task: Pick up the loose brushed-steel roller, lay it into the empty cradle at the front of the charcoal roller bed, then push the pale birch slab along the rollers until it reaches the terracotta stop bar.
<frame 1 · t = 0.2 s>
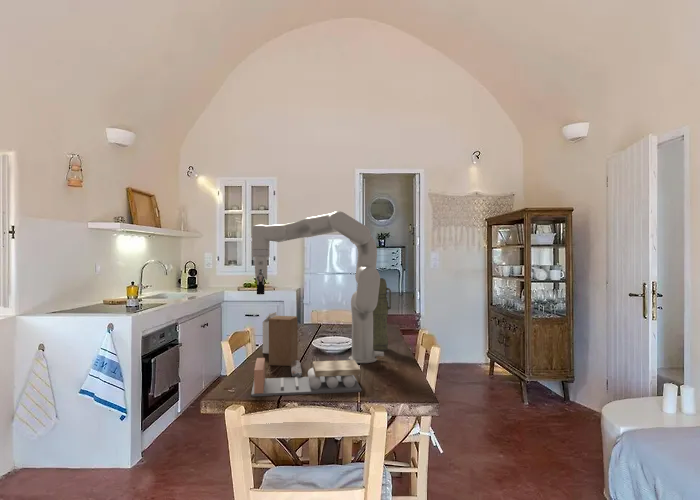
hand: (260, 293, 207), 31 cm above the table, fingers open, 9 cm apart
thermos: (378, 349, 238), on the table
wooden block: (283, 363, 209), on the table
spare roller: (296, 374, 192), on the table
roller bed: (305, 386, 175), on the table
milk carton: (272, 352, 231), on the table
slab: (335, 368, 176), point 6 cm above the table, slide at 0.0 cm
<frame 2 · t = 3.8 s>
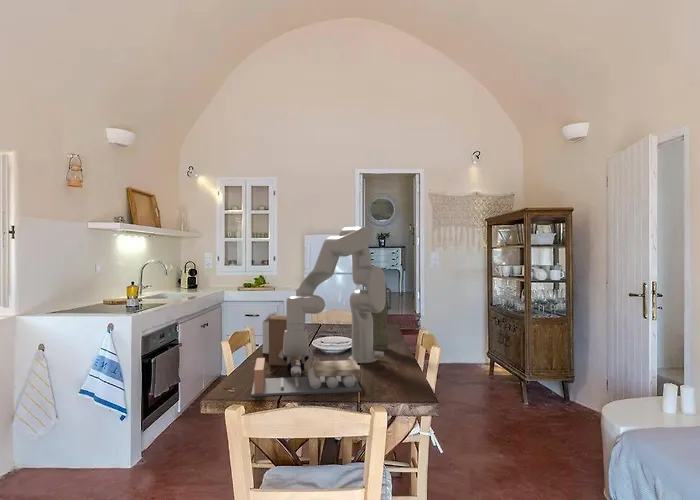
hand: (295, 372, 192), 0 cm above the table, fingers closed on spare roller, 4 cm apart
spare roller: (295, 373, 192), on the table, touching gripper
everything else where it was.
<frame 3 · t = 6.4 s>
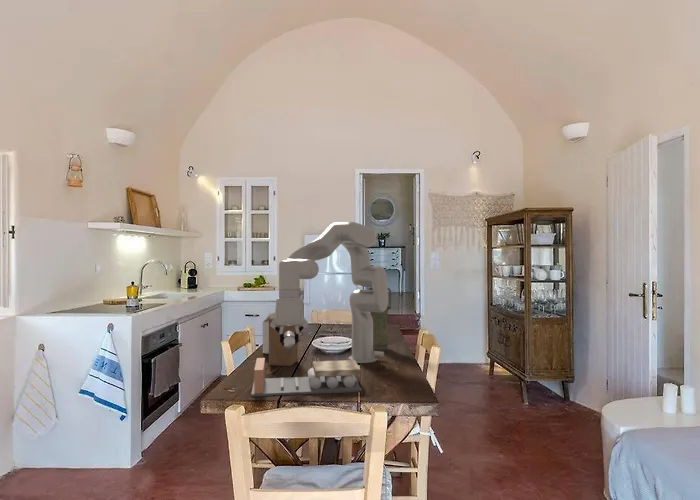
hand: (289, 344, 174), 16 cm above the table, fingers closed on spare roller, 4 cm apart
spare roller: (289, 345, 174), point 15 cm above the table, touching gripper
everything else where it was.
when the fingers open (3 cm above the table, at t = 9.2 s): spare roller drops 1 cm, resting on roller bed.
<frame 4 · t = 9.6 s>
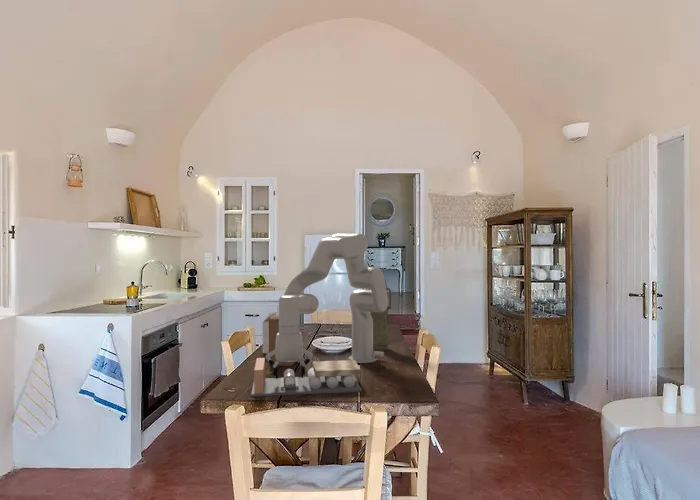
hand: (289, 377, 174), 3 cm above the table, fingers open, 8 cm apart
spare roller: (289, 384, 174), point 1 cm above the table, touching roller bed
everything else where it was.
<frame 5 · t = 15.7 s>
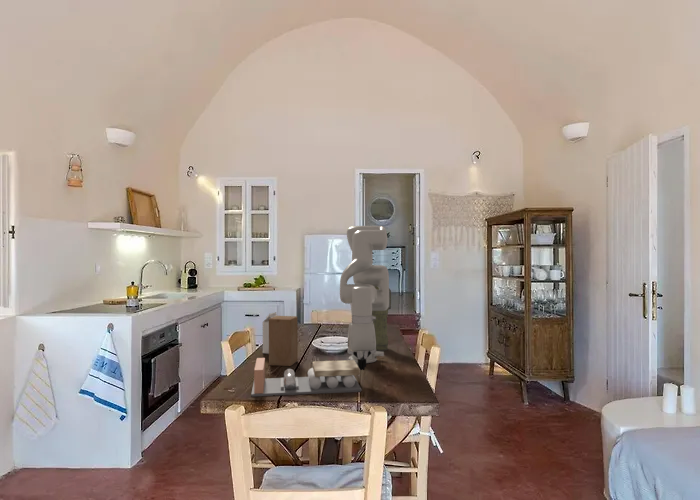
hand: (361, 369, 178), 5 cm above the table, fingers closed
slab: (335, 368, 176), point 6 cm above the table, slide at 0.2 cm, touching gripper
everything else where it was.
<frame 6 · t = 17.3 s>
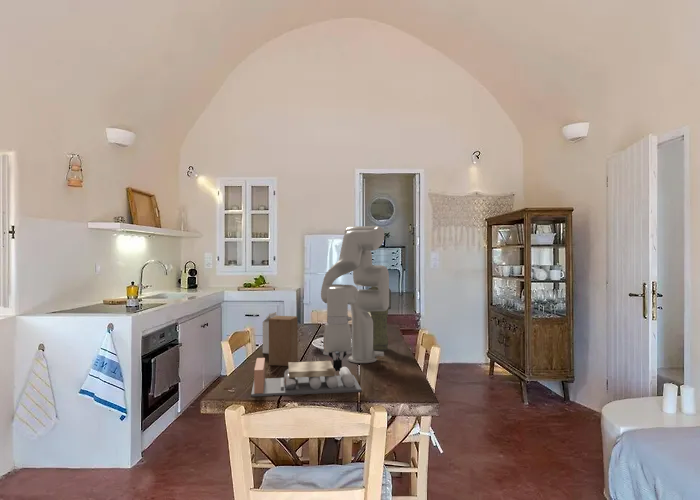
hand: (337, 370, 177), 5 cm above the table, fingers closed
slab: (310, 368, 175), point 6 cm above the table, slide at 9.2 cm, touching gripper
everything else where it was.
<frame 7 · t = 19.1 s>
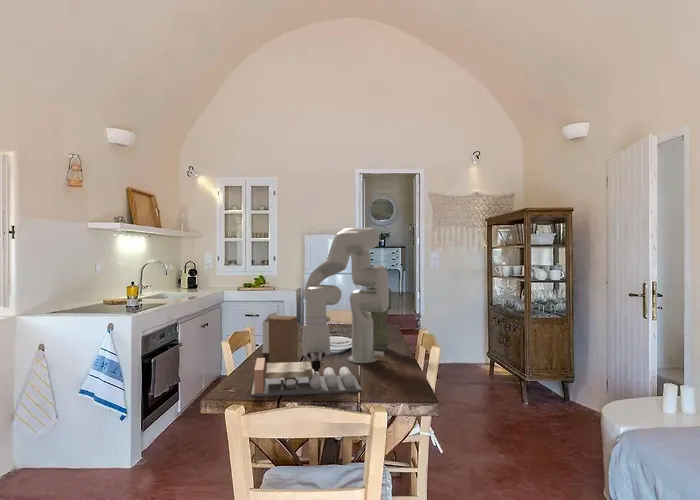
hand: (316, 370, 175), 5 cm above the table, fingers closed
slab: (289, 369, 174), point 6 cm above the table, slide at 17.1 cm, touching gripper
everything else where it was.
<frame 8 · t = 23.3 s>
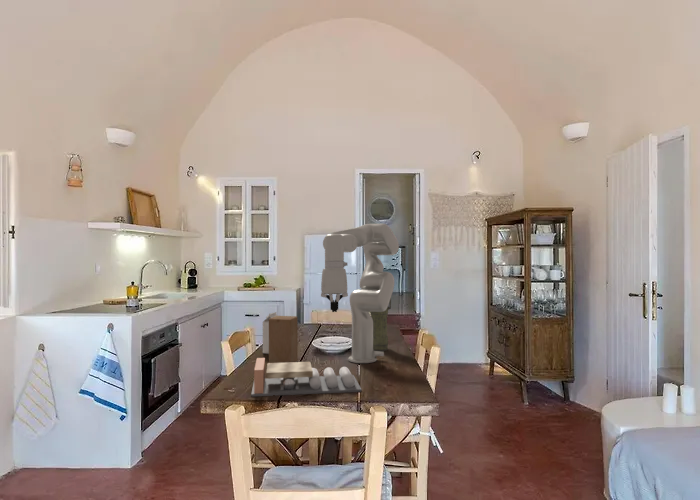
hand: (334, 311, 190), 25 cm above the table, fingers closed
slab: (289, 369, 174), point 6 cm above the table, slide at 17.0 cm
everything else where it was.
at the end: slab slide at 17.0 cm; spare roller inside the target area (0.1 cm from its centre), point 0.8 cm above the table; the gripper is holding nothing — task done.
